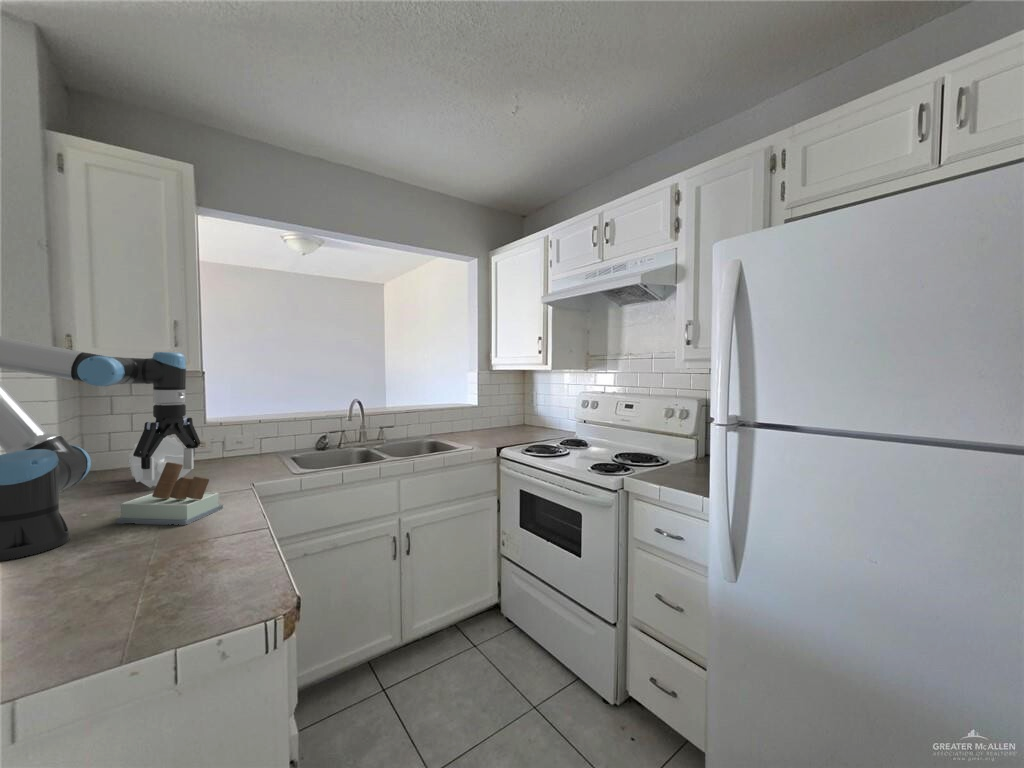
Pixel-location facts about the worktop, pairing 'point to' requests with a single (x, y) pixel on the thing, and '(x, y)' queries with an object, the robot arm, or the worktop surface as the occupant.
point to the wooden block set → (179, 484)
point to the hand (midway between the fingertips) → (169, 474)
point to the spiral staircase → (159, 460)
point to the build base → (168, 509)
